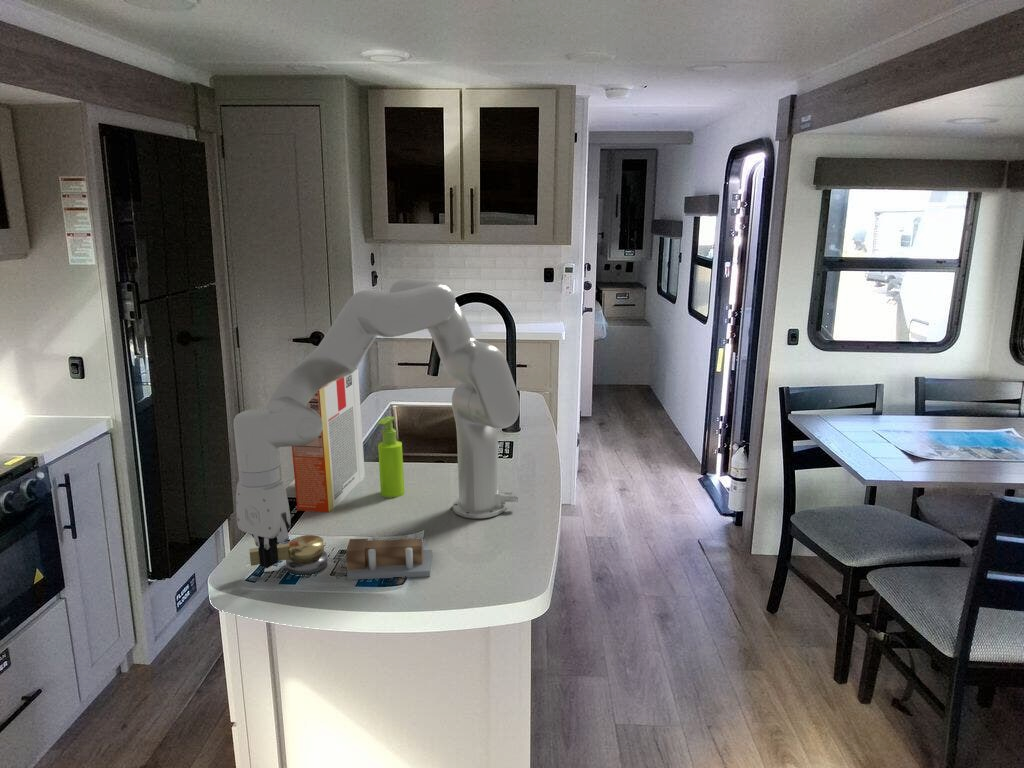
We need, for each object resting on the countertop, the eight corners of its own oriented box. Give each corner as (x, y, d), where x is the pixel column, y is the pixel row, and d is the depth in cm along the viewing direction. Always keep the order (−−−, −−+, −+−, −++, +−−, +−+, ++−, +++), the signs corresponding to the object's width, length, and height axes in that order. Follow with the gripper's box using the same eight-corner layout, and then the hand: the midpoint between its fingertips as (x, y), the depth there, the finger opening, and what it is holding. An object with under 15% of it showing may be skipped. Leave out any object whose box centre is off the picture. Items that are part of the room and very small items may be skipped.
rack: (432, 554, 150) (431, 531, 148) (429, 576, 141) (428, 552, 140) (354, 557, 149) (352, 534, 148) (347, 579, 140) (345, 555, 139)
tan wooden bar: (423, 554, 147) (422, 536, 146) (421, 566, 142) (420, 548, 141) (351, 557, 146) (349, 539, 146) (347, 569, 141) (345, 550, 140)
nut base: (331, 556, 149) (330, 547, 149) (323, 575, 142) (322, 566, 141) (271, 558, 149) (270, 549, 148) (260, 577, 141) (259, 568, 141)
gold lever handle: (322, 544, 149) (321, 530, 148) (325, 559, 143) (324, 545, 142) (250, 556, 144) (249, 541, 144) (251, 572, 138) (249, 557, 137)
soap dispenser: (374, 497, 180) (369, 420, 175) (388, 487, 186) (384, 413, 181) (394, 500, 178) (390, 422, 173) (408, 490, 184) (404, 415, 179)
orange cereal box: (336, 476, 195) (328, 367, 188) (364, 477, 193) (357, 368, 186) (297, 510, 173) (286, 389, 166) (328, 512, 171) (319, 390, 164)
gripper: (216, 475, 136) (227, 564, 140) (274, 488, 129) (283, 581, 133) (248, 463, 142) (257, 548, 146) (304, 475, 135) (312, 564, 139)
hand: (269, 564), depth 140 cm, fingers closed
